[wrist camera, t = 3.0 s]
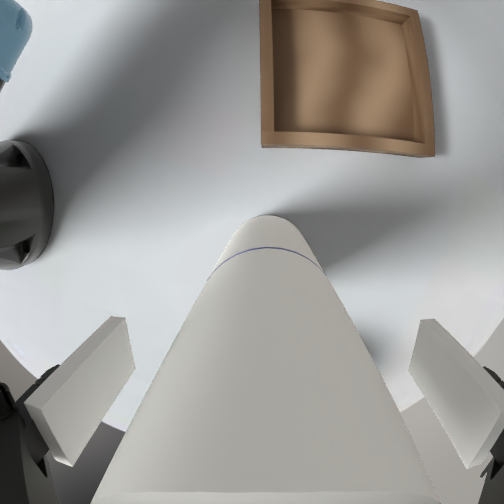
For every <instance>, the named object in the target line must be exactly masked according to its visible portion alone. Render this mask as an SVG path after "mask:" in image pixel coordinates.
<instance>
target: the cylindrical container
mask: <svg viewBox="0 0 504 504" xmlns="http://www.w3.org/2000/svg"><path fill="white" fill-rule="evenodd" d="M91 504H441V503H440V500H439V498H438V496H437V493H436V491H435V489H434V486H433V484H432V482H431V480H430V477H429V475H428V473H427V470H426V468H425V466H424V463H423V461H422V459H421V457H420V455H419V452H418V450H417V448H416V446H415V444H414V441H413V439H412V437H411V435H410V433H409V431H408V429H407V427H406V425H405V423H404V420H403V418H402V416H401V414H400V412H399V410H398V408H397V406H396V404H395V402H394V400H393V398H392V396H391V394H390V392H389V390H388V388H387V386H386V384H385V382H384V380H383V378H382V376H381V374H380V373H379V371H378V369H377V367H376V365H375V363H374V361H373V359H372V357H371V355H370V353H369V352H368V350H367V348H366V346H365V344H364V342H363V340H362V339H361V337H360V335H359V333H358V331H357V329H356V328H355V326H354V324H353V322H352V320H351V318H350V317H349V315H348V313H347V311H346V309H345V308H344V306H343V304H342V302H341V301H340V299H339V297H338V295H337V294H336V292H335V290H334V288H333V287H332V285H331V283H330V281H329V280H328V278H327V276H326V274H325V273H324V271H323V269H322V268H321V266H320V264H319V262H318V261H317V259H316V257H315V256H314V254H313V252H312V251H311V249H310V247H309V246H308V244H307V242H306V241H305V239H304V237H303V236H302V234H301V232H300V231H299V230H298V229H297V228H296V226H295V225H293V224H292V223H291V222H289V221H288V220H286V219H284V218H281V217H277V216H272V215H264V216H257V217H254V218H252V219H249V220H248V221H246V222H244V223H243V224H242V225H241V226H240V227H239V228H238V229H237V230H236V231H235V233H234V234H233V236H232V237H231V239H230V241H229V243H228V244H227V246H226V248H225V250H224V251H223V253H222V255H221V257H220V259H219V260H218V262H217V264H216V266H215V267H214V269H213V271H212V273H211V275H210V276H209V278H208V280H207V282H206V283H205V285H204V287H203V289H202V291H201V292H200V294H199V296H198V298H197V300H196V301H195V303H194V305H193V307H192V309H191V310H190V312H189V314H188V316H187V318H186V320H185V321H184V323H183V325H182V327H181V329H180V331H179V332H178V334H177V336H176V338H175V340H174V342H173V343H172V345H171V347H170V349H169V351H168V353H167V355H166V356H165V358H164V360H163V362H162V364H161V366H160V368H159V370H158V371H157V373H156V375H155V377H154V379H153V381H152V383H151V385H150V387H149V389H148V390H147V392H146V394H145V396H144V398H143V400H142V402H141V404H140V406H139V408H138V410H137V412H136V413H135V415H134V417H133V419H132V421H131V423H130V425H129V427H128V429H127V431H126V433H125V435H124V437H123V439H122V441H121V443H120V445H119V447H118V449H117V451H116V453H115V455H114V457H113V459H112V461H111V463H110V465H109V467H108V469H107V471H106V473H105V475H104V477H103V479H102V481H101V483H100V485H99V487H98V489H97V491H96V493H95V495H94V497H93V500H92V502H91Z"/></svg>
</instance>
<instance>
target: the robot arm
mask: <svg viewBox="0 0 504 504" xmlns="http://www.w3.org/2000/svg"><path fill="white" fill-rule="evenodd" d="M31 32H32V20H31V17H30V16H29V14H28V13H27V11H26V10H25V9H24V8H23V7H21V6H20V5H19V4H18V3H17V2H16V1H14V0H0V92H1V90H2V88H3V86H4V84H5V82H9V80H10V78H11V71H12V69H13V67H14V65H15V64H16V62H17V60H18V58H19V56H20V54H21V52H22V51H23V49H24V47H25V45H26V44H27V42H28V40H29V38H30V36H31ZM53 209H54V203H53V190H52V184H51V179H50V176H49V172H48V169H47V167H46V165H45V162H44V161H43V159H42V157H41V156H40V154H39V153H38V152H37V150H36V149H35V148H33V147H32V146H31V145H29V144H28V143H25V142H22V141H1V142H0V270H13V269H17V268H20V267H22V266H24V265H27V264H29V263H31V262H32V261H34V260H35V259H36V258H37V257H38V256H39V255H40V254H41V252H42V251H43V249H44V247H45V245H46V243H47V241H48V238H49V235H50V231H51V227H52V221H53ZM135 369H136V368H135V364H134V359H133V354H132V350H131V345H130V340H129V334H128V329H127V323H126V318H122V317H112V316H111V317H110V318H109V319H108V320H107V321H106V322H105V323H104V324H102V325H101V326H100V327H99V328H98V329H97V330H96V331H95V332H94V333H93V334H92V335H91V336H90V337H89V338H88V339H87V340H86V341H85V342H84V343H83V344H82V345H80V346H79V347H78V348H77V349H76V350H75V351H74V352H73V353H72V354H71V355H70V356H69V357H68V358H67V359H66V360H65V361H64V362H63V363H62V364H61V365H59V364H58V365H56V366H54V367H52V368H50V369H48V370H47V371H46V372H45V373H44V374H43V375H42V376H41V378H40V379H38V380H37V381H36V382H35V384H33V385H32V386H31V387H30V388H29V389H28V390H27V391H26V392H25V393H24V394H23V395H22V396H21V397H20V398H19V399H18V400H17V401H16V402H15V400H14V398H13V396H12V394H11V392H10V390H9V388H8V386H7V385H6V384H4V383H1V382H0V504H59V502H58V499H57V495H56V491H55V488H54V484H53V480H52V476H51V471H50V467H49V462H48V460H47V458H46V456H45V455H46V453H47V452H48V450H50V452H51V453H52V455H53V457H54V458H55V460H57V461H59V462H62V463H64V464H66V465H69V466H73V465H74V463H75V462H76V460H77V458H78V457H79V455H80V454H81V452H82V451H83V449H84V447H85V446H86V444H87V442H88V441H89V439H90V438H91V436H92V435H93V433H94V432H95V430H96V428H97V427H98V425H99V424H100V422H101V421H102V419H103V417H104V416H105V414H106V413H107V411H108V410H109V408H110V407H111V405H112V404H113V402H114V400H115V399H116V397H117V396H118V394H119V393H120V391H121V390H122V388H123V387H124V385H125V384H126V382H127V381H128V379H129V378H130V376H131V375H132V373H133V372H134V370H135ZM408 371H409V373H410V374H411V376H412V377H413V379H414V381H415V382H416V384H417V385H418V387H419V388H420V390H421V392H422V393H423V395H424V397H425V398H426V400H427V401H428V403H429V405H430V406H431V408H432V410H433V411H434V413H435V415H436V416H437V418H438V420H439V421H440V423H441V425H442V426H443V428H444V430H445V432H446V433H447V435H448V437H449V439H450V440H451V442H452V444H453V446H454V447H455V449H456V451H457V453H458V455H459V456H460V458H461V460H462V462H463V464H464V465H465V467H466V469H468V468H471V467H473V466H475V465H478V464H480V463H482V462H483V461H484V459H485V458H486V456H487V455H488V454H489V452H491V454H492V455H493V458H492V460H491V461H490V463H489V464H488V465H487V467H486V468H485V470H484V471H483V472H482V474H481V476H480V477H483V476H484V475H485V473H486V472H487V476H486V479H485V483H484V486H483V490H482V493H481V497H480V500H479V503H478V504H504V382H503V381H501V379H500V378H499V377H498V375H497V374H496V373H495V372H493V371H492V370H490V369H488V368H486V367H482V366H481V365H480V364H479V363H478V362H477V361H476V360H475V359H474V358H473V357H472V356H471V355H470V353H469V352H468V351H467V350H466V349H465V348H464V347H463V346H462V345H461V344H460V343H459V342H458V341H457V340H456V339H455V338H454V337H453V336H452V335H451V334H450V333H449V332H447V331H446V330H445V329H444V328H443V327H442V326H441V325H440V324H439V323H438V322H437V321H436V320H435V319H425V320H420V325H419V330H418V334H417V338H416V343H415V347H414V351H413V355H412V358H411V362H410V366H409V369H408Z"/></svg>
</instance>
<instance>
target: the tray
mask: <svg viewBox="0 0 504 504" xmlns="http://www.w3.org/2000/svg"><path fill="white" fill-rule="evenodd" d="M259 9H260V71H261V146H262V148H310V149H332V150H348V151H361V152H373V153H384V154H393V155H402V156H411V157H418V158H421V157H434V156H435V138H434V118H433V105H432V94H431V85H430V76H429V69H428V62H427V56H426V50H425V44H424V39H423V34H422V29H421V24H420V20H419V15H418V11H417V10H413V9H410V8H406V7H402V6H398V5H394V4H390V3H386V2H381V1H377V0H259Z"/></svg>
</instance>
